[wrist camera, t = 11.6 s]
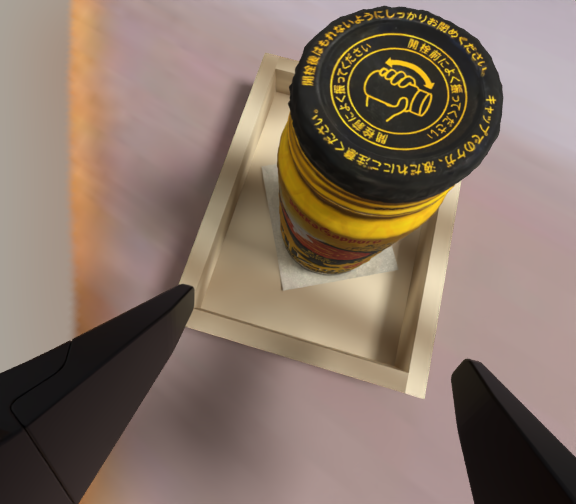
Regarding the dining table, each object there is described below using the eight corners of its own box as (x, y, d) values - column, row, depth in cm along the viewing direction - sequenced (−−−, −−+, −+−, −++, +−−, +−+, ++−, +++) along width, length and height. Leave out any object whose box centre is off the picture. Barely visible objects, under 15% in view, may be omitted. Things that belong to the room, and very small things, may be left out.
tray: (400, 384, 17) (424, 399, 14) (184, 319, 18) (165, 320, 15) (447, 134, 21) (474, 105, 18) (267, 87, 22) (265, 52, 19)
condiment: (283, 291, 17) (282, 245, 6) (261, 167, 19) (226, -62, 8) (397, 270, 18) (614, 188, 6) (365, 151, 20) (487, -91, 8)
